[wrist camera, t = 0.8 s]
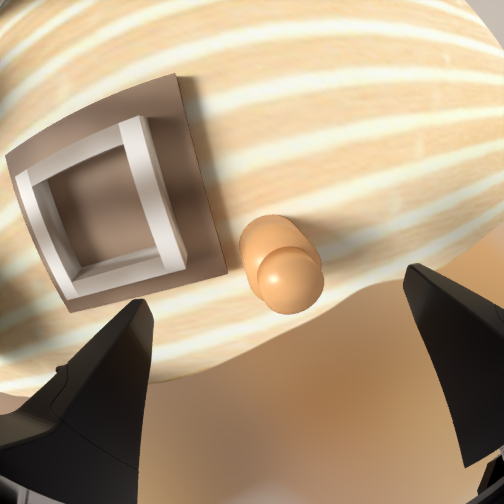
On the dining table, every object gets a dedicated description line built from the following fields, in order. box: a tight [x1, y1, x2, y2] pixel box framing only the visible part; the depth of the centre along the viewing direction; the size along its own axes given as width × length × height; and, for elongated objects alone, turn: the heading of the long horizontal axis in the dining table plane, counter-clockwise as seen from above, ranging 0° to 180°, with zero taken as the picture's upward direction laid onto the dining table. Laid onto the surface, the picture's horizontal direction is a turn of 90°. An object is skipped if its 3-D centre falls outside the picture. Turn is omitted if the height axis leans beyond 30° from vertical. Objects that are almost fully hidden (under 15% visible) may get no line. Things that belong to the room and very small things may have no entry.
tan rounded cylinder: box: [239, 215, 324, 314], centre depth 20 cm, size 5×5×7 cm
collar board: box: [5, 73, 228, 313], centre depth 18 cm, size 16×16×4 cm
